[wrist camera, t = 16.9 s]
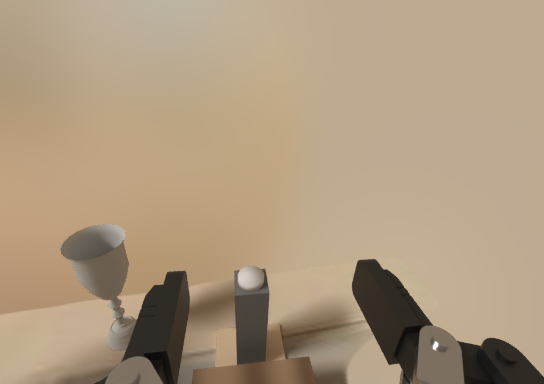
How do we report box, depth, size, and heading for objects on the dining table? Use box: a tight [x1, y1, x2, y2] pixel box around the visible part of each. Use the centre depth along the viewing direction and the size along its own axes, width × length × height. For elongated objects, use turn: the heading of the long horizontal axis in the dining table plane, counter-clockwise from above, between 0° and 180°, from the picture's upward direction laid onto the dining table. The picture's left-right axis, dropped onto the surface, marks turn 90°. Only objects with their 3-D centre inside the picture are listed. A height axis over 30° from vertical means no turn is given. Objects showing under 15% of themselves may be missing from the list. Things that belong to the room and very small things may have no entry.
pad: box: [215, 324, 286, 367], centre depth 39 cm, size 10×8×1 cm
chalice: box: [61, 224, 137, 350], centre depth 37 cm, size 7×7×18 cm
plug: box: [234, 266, 269, 365], centre depth 36 cm, size 4×4×15 cm
